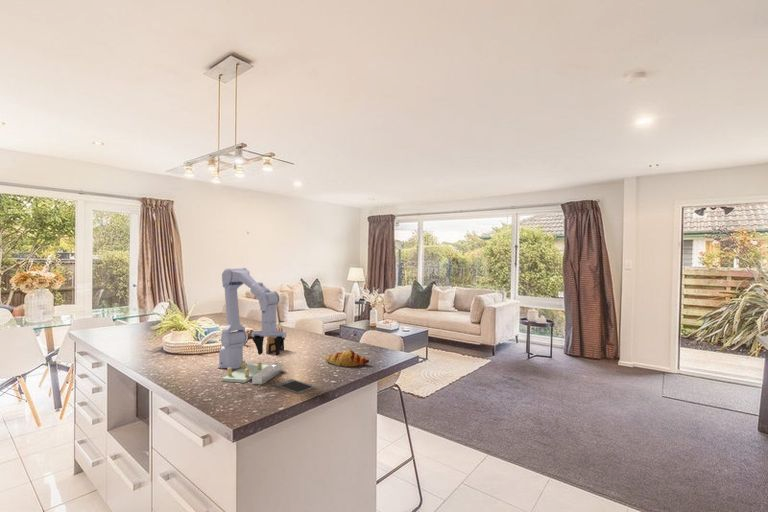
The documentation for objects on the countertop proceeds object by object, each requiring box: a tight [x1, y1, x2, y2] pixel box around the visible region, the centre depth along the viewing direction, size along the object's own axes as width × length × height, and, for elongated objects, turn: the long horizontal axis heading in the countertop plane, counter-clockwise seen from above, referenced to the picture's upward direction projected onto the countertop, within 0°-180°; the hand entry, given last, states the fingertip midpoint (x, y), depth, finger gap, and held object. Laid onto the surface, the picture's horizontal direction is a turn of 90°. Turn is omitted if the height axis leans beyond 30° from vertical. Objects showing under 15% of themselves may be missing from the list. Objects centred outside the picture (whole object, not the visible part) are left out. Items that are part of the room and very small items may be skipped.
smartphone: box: [274, 378, 316, 395], centre depth 137 cm, size 15×8×1 cm, turn 51°
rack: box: [221, 360, 271, 384], centre depth 152 cm, size 10×20×4 cm, turn 169°
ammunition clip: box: [265, 327, 285, 355], centre depth 188 cm, size 11×2×12 cm, turn 150°
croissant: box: [325, 349, 370, 367], centre depth 166 cm, size 21×10×8 cm, turn 75°
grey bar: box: [251, 362, 283, 385], centre depth 148 cm, size 18×5×3 cm, turn 169°
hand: (269, 354), depth 149 cm, fingers open, 7 cm apart
